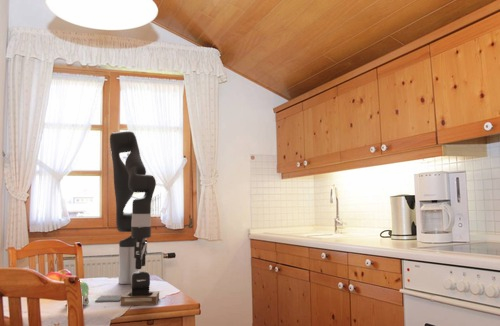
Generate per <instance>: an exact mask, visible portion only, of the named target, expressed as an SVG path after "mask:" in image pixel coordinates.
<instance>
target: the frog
mask: <svg viewBox="0 0 500 326" xmlns="http://www.w3.org/2000/svg"><path fill="white" fill-rule="evenodd" d="M80 282H81V289H82V296H83V305H84V306H85V305H86V306H87V305H88V304H89V303H90V300H89V290H90V289H89V285H88V283H87V282H85V281H84V280H80ZM66 306H68V305H67V303H66V304H65V307H66Z"/></svg>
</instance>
